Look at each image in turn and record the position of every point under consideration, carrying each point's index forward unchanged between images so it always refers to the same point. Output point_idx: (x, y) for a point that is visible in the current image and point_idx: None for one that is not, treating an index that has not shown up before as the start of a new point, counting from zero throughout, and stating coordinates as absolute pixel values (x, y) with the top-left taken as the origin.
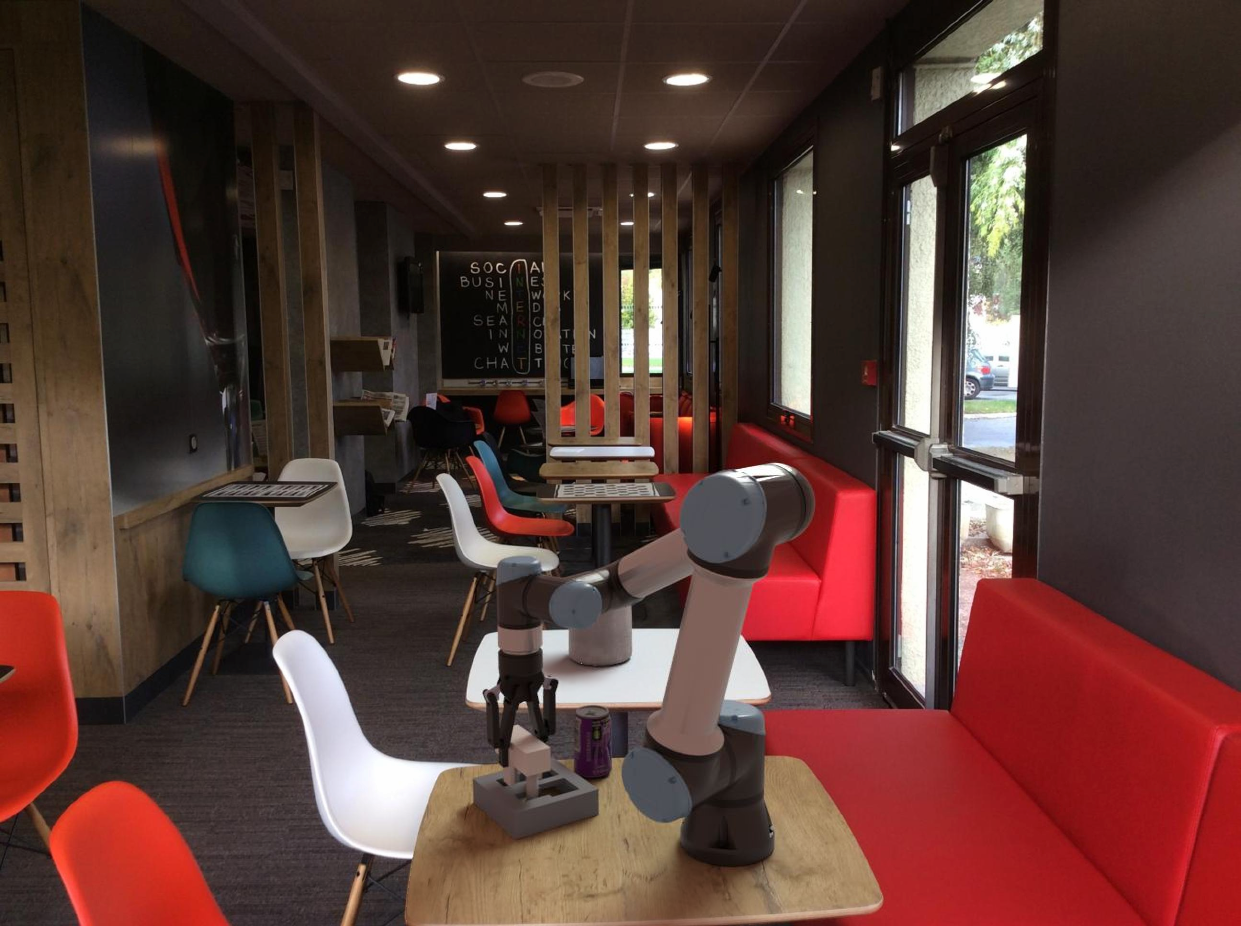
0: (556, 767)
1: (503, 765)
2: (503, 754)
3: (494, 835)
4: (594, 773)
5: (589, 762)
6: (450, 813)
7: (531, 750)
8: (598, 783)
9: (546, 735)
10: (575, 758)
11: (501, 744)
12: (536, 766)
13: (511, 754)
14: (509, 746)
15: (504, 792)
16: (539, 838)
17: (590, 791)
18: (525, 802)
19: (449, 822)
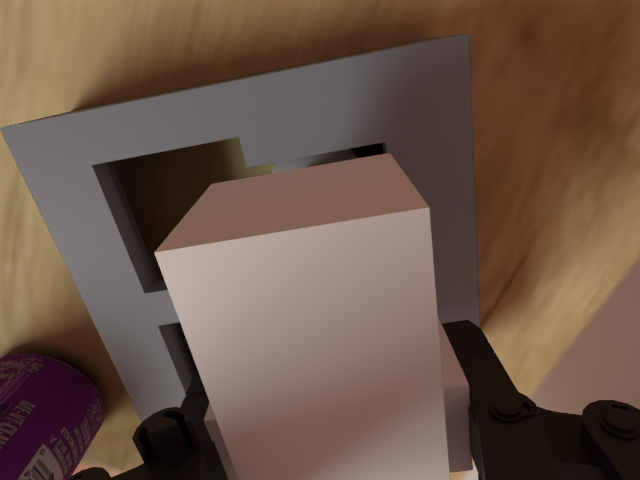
0: (158, 381)
1: (472, 326)
2: (496, 375)
3: (487, 106)
4: (37, 362)
5: (29, 397)
6: (545, 308)
7: (353, 255)
8: (41, 324)
9: (144, 467)
10: (78, 437)
11: (548, 437)
12: (315, 179)
13: (445, 360)
14: (477, 409)
15: None
16: (342, 5)
17: (43, 120)
18: (375, 132)
19: (577, 256)
